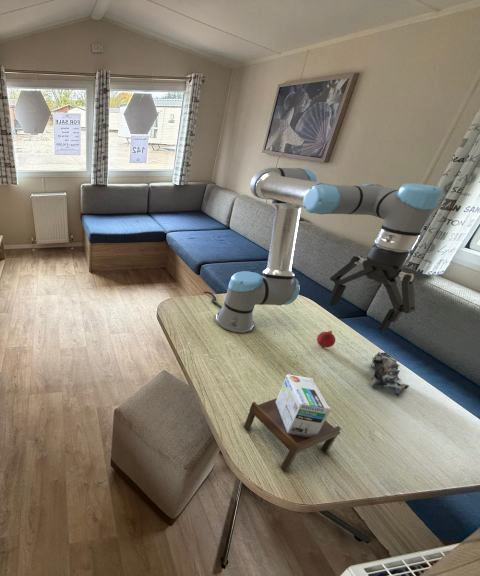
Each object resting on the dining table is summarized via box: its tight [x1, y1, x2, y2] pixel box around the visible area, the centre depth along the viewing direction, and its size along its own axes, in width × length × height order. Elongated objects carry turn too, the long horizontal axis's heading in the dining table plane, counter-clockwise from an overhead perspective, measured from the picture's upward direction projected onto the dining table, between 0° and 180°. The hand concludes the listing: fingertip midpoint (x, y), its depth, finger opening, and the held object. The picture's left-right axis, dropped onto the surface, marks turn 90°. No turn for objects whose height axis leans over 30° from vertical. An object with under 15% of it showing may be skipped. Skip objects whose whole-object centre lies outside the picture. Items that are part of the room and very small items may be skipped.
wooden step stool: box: [243, 397, 342, 473], centre depth 83 cm, size 14×16×10 cm
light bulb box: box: [276, 374, 332, 438], centre depth 79 cm, size 11×7×11 cm, turn 169°
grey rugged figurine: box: [370, 351, 410, 397], centre depth 105 cm, size 12×11×15 cm
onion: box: [316, 329, 336, 348], centre depth 120 cm, size 6×6×8 cm
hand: (356, 316), depth 89 cm, fingers open, 13 cm apart
